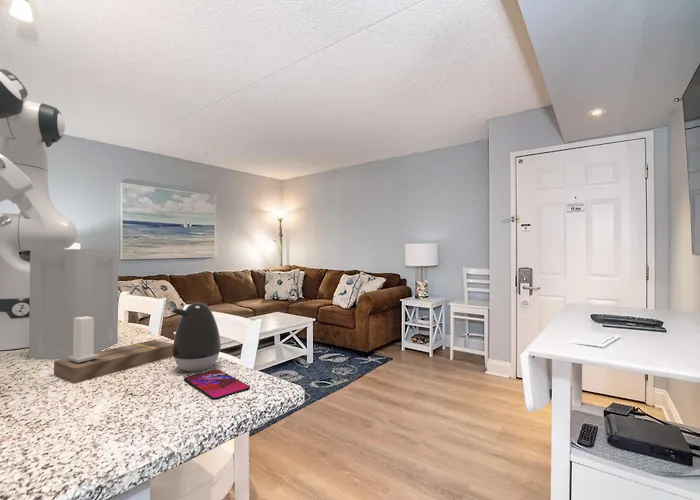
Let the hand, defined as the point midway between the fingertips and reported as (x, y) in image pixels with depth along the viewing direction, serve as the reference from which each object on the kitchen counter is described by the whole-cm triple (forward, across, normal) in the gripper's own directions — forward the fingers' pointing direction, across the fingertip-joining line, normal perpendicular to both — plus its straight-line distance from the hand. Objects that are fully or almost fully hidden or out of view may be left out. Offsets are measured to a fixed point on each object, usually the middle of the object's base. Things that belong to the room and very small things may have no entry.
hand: (19, 221), depth 68 cm
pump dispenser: (+42, -20, +6) cm, 47 cm away
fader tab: (+29, 0, +11) cm, 32 cm away
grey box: (+36, +20, +4) cm, 42 cm away
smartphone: (+40, -31, +12) cm, 52 cm away
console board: (+37, 0, +8) cm, 38 cm away
